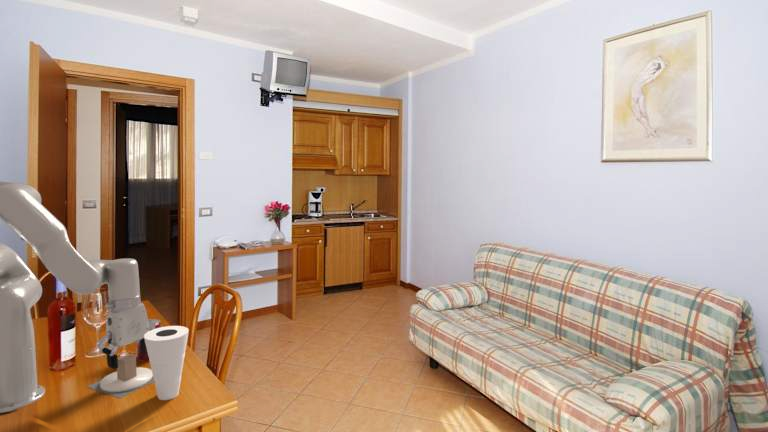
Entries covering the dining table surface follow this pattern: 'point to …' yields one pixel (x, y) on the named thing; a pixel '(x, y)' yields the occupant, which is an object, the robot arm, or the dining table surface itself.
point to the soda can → (140, 355)
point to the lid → (126, 376)
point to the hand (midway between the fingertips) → (129, 360)
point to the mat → (118, 394)
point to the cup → (167, 358)
